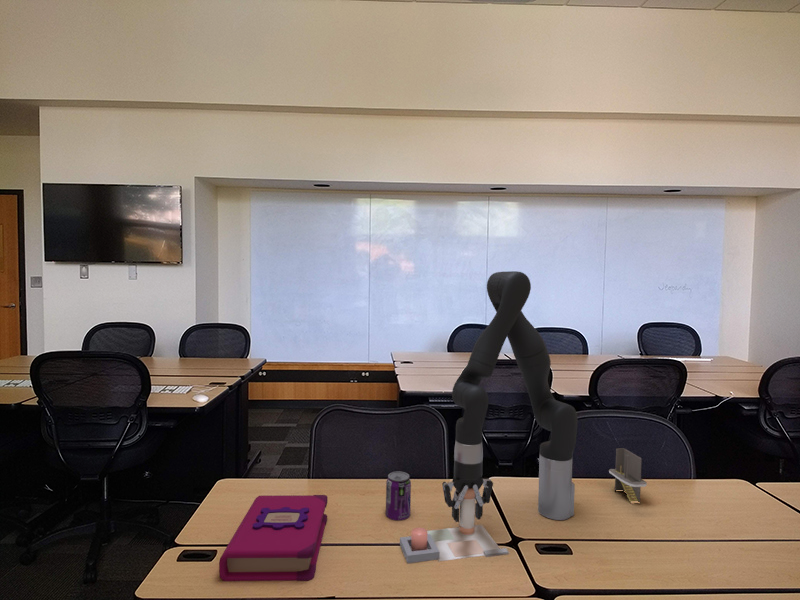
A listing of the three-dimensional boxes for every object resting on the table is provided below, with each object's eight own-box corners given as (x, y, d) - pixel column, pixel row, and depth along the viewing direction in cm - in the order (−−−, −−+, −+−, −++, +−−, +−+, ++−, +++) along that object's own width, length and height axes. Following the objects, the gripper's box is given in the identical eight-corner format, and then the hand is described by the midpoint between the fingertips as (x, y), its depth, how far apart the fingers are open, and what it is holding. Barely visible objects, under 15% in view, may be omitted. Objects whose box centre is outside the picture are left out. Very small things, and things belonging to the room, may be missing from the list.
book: (218, 583, 102) (219, 550, 102) (254, 519, 130) (254, 492, 130) (313, 582, 103) (313, 549, 103) (328, 518, 131) (328, 492, 131)
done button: (424, 542, 116) (424, 526, 116) (429, 551, 112) (429, 535, 112) (409, 544, 115) (409, 528, 115) (413, 553, 111) (413, 537, 111)
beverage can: (407, 524, 128) (408, 482, 128) (383, 521, 129) (383, 479, 129) (412, 512, 135) (412, 472, 135) (388, 509, 136) (389, 469, 136)
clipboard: (484, 524, 129) (484, 519, 129) (511, 557, 113) (511, 552, 113) (416, 532, 124) (416, 527, 124) (433, 567, 109) (434, 562, 108)
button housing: (429, 543, 119) (429, 534, 119) (439, 561, 111) (439, 551, 111) (399, 547, 117) (399, 537, 117) (407, 566, 109) (407, 555, 109)
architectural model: (621, 520, 133) (623, 470, 132) (577, 482, 158) (578, 440, 157) (683, 516, 135) (685, 468, 135) (629, 480, 160) (631, 439, 160)
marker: (471, 527, 126) (472, 482, 125) (477, 535, 122) (478, 489, 121) (456, 528, 125) (457, 484, 124) (462, 537, 121) (463, 491, 120)
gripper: (487, 450, 128) (486, 510, 128) (438, 454, 124) (437, 515, 125) (499, 460, 120) (497, 523, 121) (447, 464, 117) (446, 529, 118)
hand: (467, 519), depth 123 cm, fingers open, 5 cm apart
